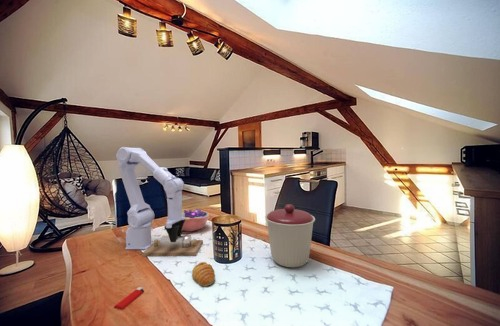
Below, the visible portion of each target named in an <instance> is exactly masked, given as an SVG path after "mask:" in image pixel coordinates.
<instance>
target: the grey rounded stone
mask: <svg viewBox="0 0 500 326" xmlns="http://www.w3.org/2000/svg"><path fill="white" fill-rule="evenodd" d="M159 240H160V245H161V248H162V247H182V248H188V247H191V240H192V235H191V234H183V235H182V234H181V235H177V240H176V242H170V239H169V235H168V234H166V235H162V236H161V237H160V239H159Z"/></svg>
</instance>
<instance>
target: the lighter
mask: <svg viewBox="0 0 500 326" xmlns="http://www.w3.org/2000/svg"><path fill="white" fill-rule="evenodd" d="M144 293H145V290H144V287H141V286H138V287H137V288H136V289H134V290H133V291H132V292H131V293H130V294H128V295H126V297H124V298H123V299H122V300H120V301H119V302H117V303H116V304H115V305H114V307H113V308H114V309H117V310H121V311H123V310H124V309H126V308H127V307H128V306H129V305H131V304H132V303H133V302H134V301H135V300H137V299H138V298H139V297H140V296H142V295H143V294H144Z"/></svg>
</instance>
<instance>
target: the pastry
mask: <svg viewBox="0 0 500 326" xmlns="http://www.w3.org/2000/svg"><path fill="white" fill-rule="evenodd" d="M191 272H192V273H191V277H192V279H193V281H195V283H197V284H198V285H199V286H202V287H204V288H205V287H208V286H210V285H212V284H213V283H214V282H215V280H216V277H215V276H216V275H215V274H216V273H215V269H214V268H213V265H211V264H210V263H207V262H206V261H201V262H198V263H197V264H196V265H195V266H193V268H192V270H191Z"/></svg>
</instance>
